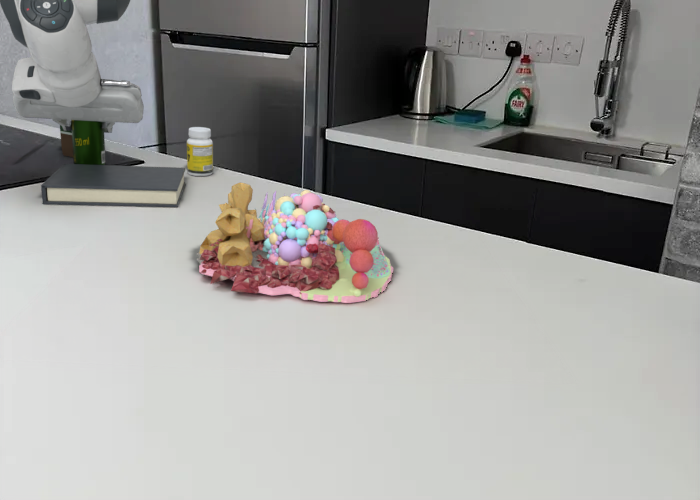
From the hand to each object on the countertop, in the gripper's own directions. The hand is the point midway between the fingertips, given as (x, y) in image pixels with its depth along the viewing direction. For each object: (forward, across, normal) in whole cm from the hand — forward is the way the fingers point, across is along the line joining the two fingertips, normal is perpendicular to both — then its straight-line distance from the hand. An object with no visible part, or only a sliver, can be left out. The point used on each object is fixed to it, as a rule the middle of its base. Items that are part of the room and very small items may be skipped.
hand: (88, 128), depth 121 cm
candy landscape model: (-26, -34, +37) cm, 57 cm away
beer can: (+5, 0, +6) cm, 7 cm away
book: (-4, -7, +15) cm, 17 cm away
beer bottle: (+16, +5, -4) cm, 17 cm away
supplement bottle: (+7, -19, +5) cm, 21 cm away
